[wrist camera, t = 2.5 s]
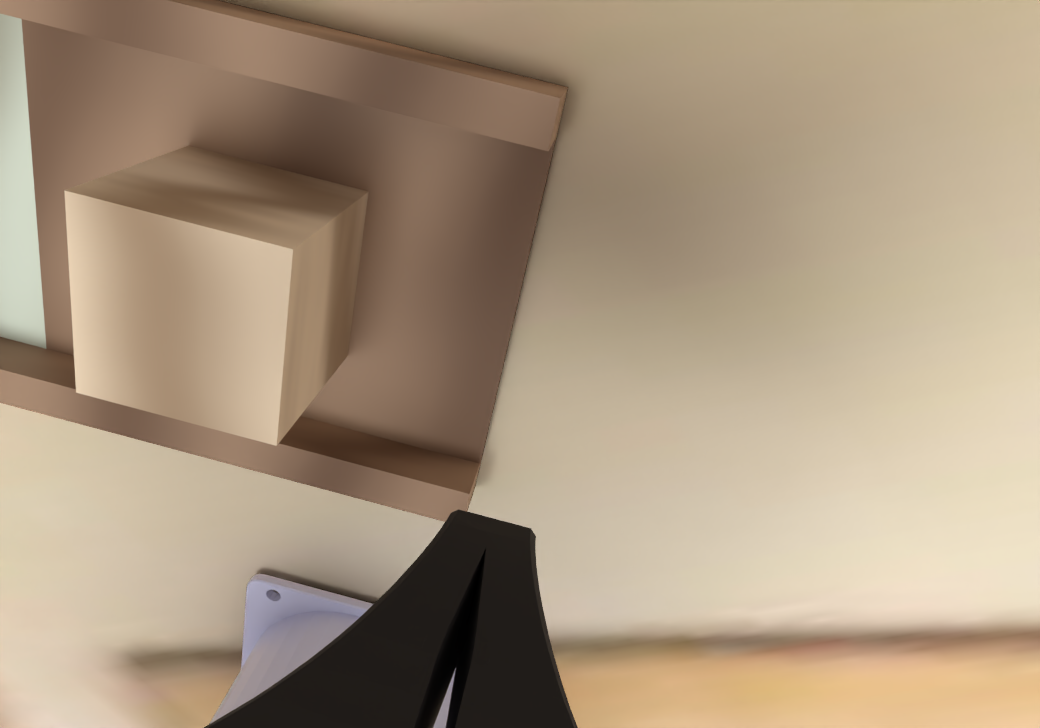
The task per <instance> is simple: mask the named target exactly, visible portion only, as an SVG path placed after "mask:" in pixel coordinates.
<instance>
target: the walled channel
mask: <svg viewBox="0 0 1040 728" xmlns="http://www.w3.org/2000/svg"><path fill="white" fill-rule="evenodd" d="M567 90H568V87H565V86H561V85H557V84H553V83H549V82H545V81H541V80H537V79H533V78H529V77H525V76H521V75H517V74H513V73H509V72H505V71H501V70H496V69H492V68H488V67H484V66H480V65H476V64H472V63H468V62H464V61H460V60H456V59H452V58H448V57H444V56H440V55H436V54H432V53H428V52H424V51H420V50H416V49H412V48H408V47H404V46H400V45H396V44H392V43H388V42H384V41H380V40H376V39H372V38H368V37H364V36H360V35H356V34H352V33H348V32H344V31H340V30H336V29H332V28H328V27H324V26H320V25H316V24H312V23H308V22H304V21H300V20H296V19H292V18H288V17H283V16H279V15H275V14H271V13H267V12H263V11H259V10H255V9H251V8H247V7H243V6H239V5H235V4H231V3H227V2H223V1H219V0H0V403H4V404H7V405H11V406H15V407H19V408H22V409H26V410H30V411H34V412H37V413H41V414H45V415H49V416H52V417H56V418H60V419H64V420H67V421H71V422H75V423H78V424H82V425H86V426H90V427H93V428H97V429H101V430H105V431H108V432H112V433H116V434H120V435H123V436H127V437H131V438H135V439H138V440H142V441H146V442H149V443H153V444H157V445H161V446H164V447H168V448H172V449H176V450H179V451H183V452H187V453H191V454H194V455H198V456H202V457H206V458H209V459H213V460H217V461H220V462H224V463H228V464H232V465H235V466H239V467H243V468H247V469H250V470H254V471H258V472H262V473H265V474H269V475H273V476H277V477H280V478H284V479H288V480H292V481H295V482H299V483H303V484H306V485H310V486H314V487H318V488H321V489H325V490H329V491H333V492H336V493H340V494H344V495H348V496H351V497H355V498H359V499H363V500H366V501H370V502H374V503H377V504H381V505H385V506H389V507H392V508H396V509H400V510H404V511H407V512H411V513H415V514H419V515H422V516H426V517H430V518H434V519H437V520H441V521H445V522H446V520H447V518H448V517H449V515H450V513H452V512H454V511H456V510H458V509H459V510H463V511H467V510H468V507H469V504H470V501H471V498H472V495H473V492H474V489H475V485H476V481H477V477H478V473H479V468H480V464H481V460H482V455H483V451H484V447H485V442H486V438H487V434H488V430H489V425H490V421H491V417H492V412H493V408H494V404H495V400H496V395H497V391H498V387H499V382H500V378H501V374H502V369H503V365H504V361H505V357H506V352H507V348H508V344H509V339H510V335H511V331H512V326H513V322H514V318H515V314H516V309H517V305H518V301H519V296H520V292H521V288H522V284H523V279H524V275H525V271H526V266H527V262H528V258H529V253H530V249H531V245H532V241H533V236H534V232H535V228H536V223H537V219H538V215H539V211H540V206H541V202H542V198H543V193H544V189H545V185H546V180H547V176H548V172H549V168H550V163H551V159H552V155H553V150H554V146H555V142H556V138H557V133H558V129H559V125H560V120H561V116H562V112H563V107H564V103H565V99H566V95H567ZM186 146H192V147H195V148H199V149H203V150H207V151H211V152H215V153H219V154H223V155H227V156H231V157H235V158H239V159H243V160H246V161H250V162H254V163H258V164H262V165H266V166H270V167H274V168H278V169H282V170H286V171H290V172H293V173H297V174H301V175H305V176H309V177H313V178H317V179H321V180H325V181H329V182H333V183H337V184H341V185H344V186H348V187H352V188H356V189H360V190H364V191H368V200H367V208H366V216H365V224H364V232H363V240H362V247H361V255H360V263H359V271H358V279H357V287H356V295H355V303H354V311H353V319H352V326H351V334H350V342H349V350H348V356H347V358H346V359H345V360H344V361H343V363H342V364H341V365H340V366H339V368H338V369H337V370H336V371H335V373H334V374H333V375H332V376H331V378H330V379H329V380H328V382H327V383H326V384H325V385H324V387H323V388H322V389H321V390H320V392H319V393H318V394H317V395H316V397H315V398H314V399H313V401H312V402H311V403H310V404H309V406H308V407H307V408H306V409H305V411H304V412H303V413H302V414H301V416H300V417H299V418H298V420H297V421H296V422H295V423H294V425H293V426H292V427H291V428H290V430H289V431H288V432H287V433H286V435H285V436H284V437H283V439H282V440H281V441H280V442H279V444H278V445H277V446H275V445H271V444H267V443H264V442H260V441H256V440H252V439H249V438H245V437H241V436H237V435H234V434H230V433H226V432H222V431H219V430H215V429H211V428H207V427H204V426H200V425H196V424H192V423H189V422H185V421H181V420H177V419H174V418H170V417H166V416H162V415H159V414H155V413H151V412H147V411H144V410H140V409H136V408H132V407H128V406H125V405H121V404H117V403H113V402H110V401H106V400H102V399H98V398H95V397H91V396H87V395H83V394H80V393H76V382H75V365H74V348H73V330H72V313H71V296H70V278H69V261H68V244H67V226H66V209H65V192H64V190H67V189H70V188H72V187H75V186H78V185H81V184H84V183H86V182H89V181H92V180H95V179H97V178H100V177H103V176H106V175H108V174H111V173H114V172H117V171H119V170H122V169H125V168H128V167H130V166H133V165H136V164H139V163H142V162H144V161H147V160H150V159H153V158H155V157H158V156H161V155H164V154H166V153H169V152H172V151H175V150H177V149H180V148H183V147H186Z"/></svg>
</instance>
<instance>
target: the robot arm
mask: <svg viewBox="0 0 1040 728" xmlns="http://www.w3.org/2000/svg"><path fill="white" fill-rule="evenodd" d="M535 538H536V536H535V534H534V533H533V531H532V530H531V529H530V528H526V527H523V526H519V525H515V524H512V523H508V522H504V521H500V520H497V519H493V518H489V517H485V516H482V515H478V514H474V513H470V512H467V511H463V510H459V509H458V510H456V511H454V512H452V513H450V515H449V517H448V518H447V520H446V522H445V523H444V525H443V526H442V528H441V529H440V531H439V532H438V534H437V535H436V536H435V538H434V539H433V540H432V541H431V543H430V544H429V545H428V546H427V548H426V549H425V550H424V551H423V553H422V554H421V555H420V556H419V557H418V559H417V560H416V561H415V562H414V563H413V564H412V565H411V566H410V567H409V568H408V570H407V571H406V572H405V573H404V574H403V575H402V576H401V577H400V578H399V579H398V580H397V582H396V583H395V584H394V585H393V586H392V587H391V588H390V589H389V590H388V591H387V592H386V593H385V594H384V595H383V596H382V597H381V598H380V599H379V600H377V601H376V602H375V603H374V604H372V603H368V602H365V601H361V600H357V599H354V598H350V597H346V596H343V595H339V594H335V593H332V592H328V591H324V590H321V589H317V588H313V587H310V586H306V585H302V584H299V583H295V582H291V581H288V580H284V579H280V578H276V577H273V576H269V575H265V574H257V575H254V576H253V577H252V578H251V580H250V581H249V583H248V585H247V590H246V605H245V619H244V633H243V648H242V662H241V670H240V672H239V674H238V676H237V677H236V679H235V681H234V682H233V684H232V686H231V687H230V689H229V691H228V693H227V694H226V696H225V698H224V699H223V701H222V703H221V705H220V706H219V708H218V710H217V711H216V713H215V715H214V717H213V718H212V720H211V722H210V723H209V725H207V726H206V727H204V728H577V725H576V722H575V720H574V717H573V714H572V712H571V709H570V706H569V703H568V700H567V697H566V694H565V691H564V688H563V685H562V682H561V679H560V675H559V672H558V668H557V665H556V662H555V658H554V655H553V651H552V647H551V643H550V639H549V635H548V630H547V626H546V621H545V617H544V612H543V607H542V602H541V597H540V591H539V584H538V577H537V568H536V556H535ZM273 590H275V591H277V592H278V593H276V592H274V591H273Z"/></svg>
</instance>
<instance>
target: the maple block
mask: <svg viewBox="0 0 1040 728" xmlns="http://www.w3.org/2000/svg"><path fill="white" fill-rule="evenodd" d="M64 192H65V209H66V226H67V244H68V261H69V278H70V296H71V313H72V330H73V348H74V365H75V382H76V393H80V394H83V395H87V396H91V397H95V398H98V399H102V400H106V401H110V402H113V403H117V404H121V405H125V406H128V407H132V408H136V409H140V410H144V411H147V412H151V413H155V414H159V415H162V416H166V417H170V418H174V419H177V420H181V421H185V422H189V423H192V424H196V425H200V426H204V427H207V428H211V429H215V430H219V431H222V432H226V433H230V434H234V435H237V436H241V437H245V438H249V439H252V440H256V441H260V442H264V443H267V444H271V445H275V446H277V445H278V444H279V442H280V441H281V440H282V439H283V437H284V436H285V435H286V433H287V432H288V431H289V430H290V428H291V427H292V426H293V425H294V423H295V422H296V421H297V420H298V418H299V417H300V416H301V414H302V413H303V412H304V411H305V409H306V408H307V407H308V406H309V404H310V403H311V402H312V401H313V399H314V398H315V397H316V395H317V394H318V393H319V392H320V390H321V389H322V388H323V387H324V385H325V384H326V383H327V382H328V380H329V379H330V378H331V376H332V375H333V374H334V373H335V371H336V370H337V369H338V368H339V366H340V365H341V364H342V363H343V361H344V360H345V359H346V358H347V356H348V350H349V342H350V334H351V326H352V319H353V311H354V303H355V295H356V287H357V279H358V271H359V263H360V255H361V247H362V240H363V232H364V224H365V216H366V208H367V200H368V191H364V190H360V189H356V188H352V187H348V186H344V185H341V184H337V183H333V182H329V181H325V180H321V179H317V178H313V177H309V176H305V175H301V174H297V173H293V172H290V171H286V170H282V169H278V168H274V167H270V166H266V165H262V164H258V163H254V162H250V161H246V160H243V159H239V158H235V157H231V156H227V155H223V154H219V153H215V152H211V151H207V150H203V149H199V148H195V147H192V146H186V147H183V148H180V149H177V150H175V151H172V152H169V153H166V154H164V155H161V156H158V157H155V158H153V159H150V160H147V161H144V162H142V163H139V164H136V165H133V166H130V167H128V168H125V169H122V170H119V171H117V172H114V173H111V174H108V175H106V176H103V177H100V178H97V179H95V180H92V181H89V182H86V183H84V184H81V185H78V186H75V187H72V188H70V189H67V190H64Z"/></svg>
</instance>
